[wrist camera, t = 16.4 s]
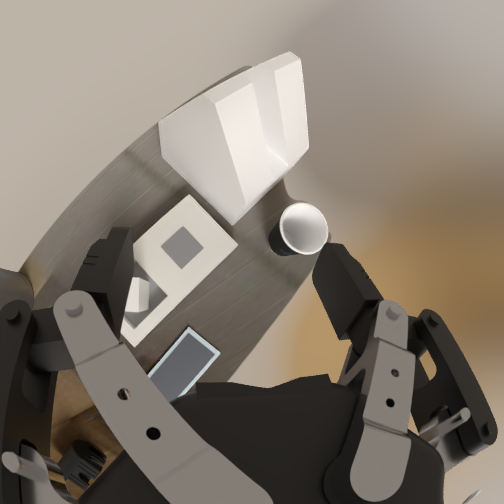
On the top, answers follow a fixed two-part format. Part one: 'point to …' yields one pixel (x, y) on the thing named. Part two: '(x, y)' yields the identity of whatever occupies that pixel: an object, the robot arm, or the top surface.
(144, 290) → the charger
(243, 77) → the milk carton
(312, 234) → the dixie cup
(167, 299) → the outlet strip
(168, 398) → the phone
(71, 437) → the top surface
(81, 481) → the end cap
